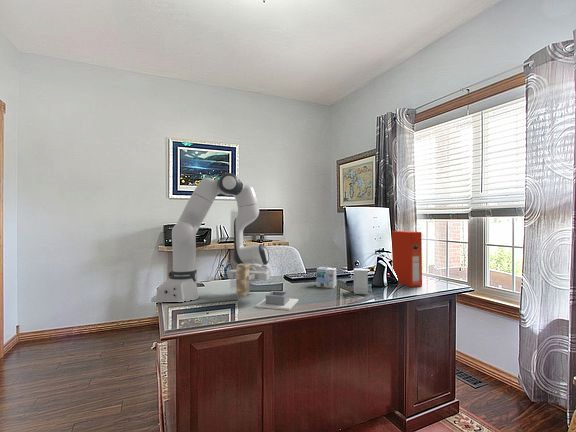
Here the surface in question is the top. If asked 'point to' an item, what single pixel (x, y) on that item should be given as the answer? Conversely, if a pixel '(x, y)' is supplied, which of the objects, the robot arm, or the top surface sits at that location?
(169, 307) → the top surface
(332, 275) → the light bulb box
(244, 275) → the maple post
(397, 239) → the file binder
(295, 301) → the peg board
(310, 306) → the top surface
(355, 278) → the supplement box
